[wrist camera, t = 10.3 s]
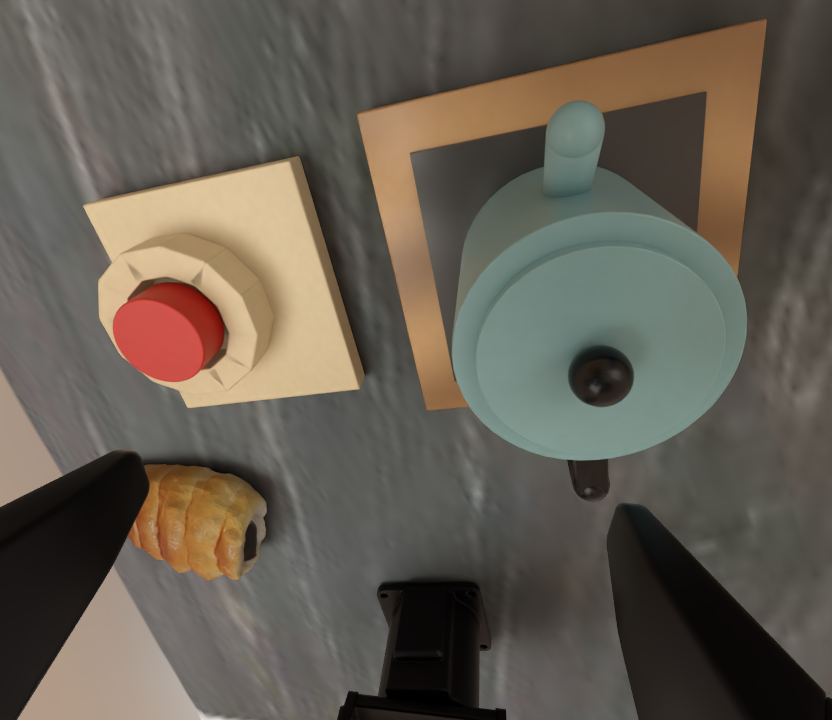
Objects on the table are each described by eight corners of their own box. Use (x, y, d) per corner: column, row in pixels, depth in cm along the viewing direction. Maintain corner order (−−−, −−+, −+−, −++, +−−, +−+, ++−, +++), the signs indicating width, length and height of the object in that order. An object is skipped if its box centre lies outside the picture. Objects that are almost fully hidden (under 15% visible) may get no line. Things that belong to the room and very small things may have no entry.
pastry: (127, 520, 31) (84, 572, 28) (110, 438, 28) (60, 487, 24) (271, 550, 31) (245, 606, 28) (272, 472, 28) (243, 525, 24)
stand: (706, 356, 21) (728, 384, 19) (430, 386, 23) (426, 414, 21) (736, 24, 15) (771, 17, 13) (368, 109, 18) (354, 113, 16)
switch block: (365, 375, 23) (350, 413, 21) (195, 395, 25) (162, 432, 23) (300, 155, 19) (270, 168, 16) (96, 199, 21) (41, 217, 18)
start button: (238, 355, 21) (219, 377, 19) (163, 365, 21) (139, 387, 20) (203, 275, 19) (179, 292, 17) (123, 288, 20) (94, 306, 18)
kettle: (655, 390, 20) (751, 569, 12) (484, 407, 21) (484, 576, 14) (666, 65, 14) (845, 57, 7) (434, 117, 16) (395, 152, 9)
